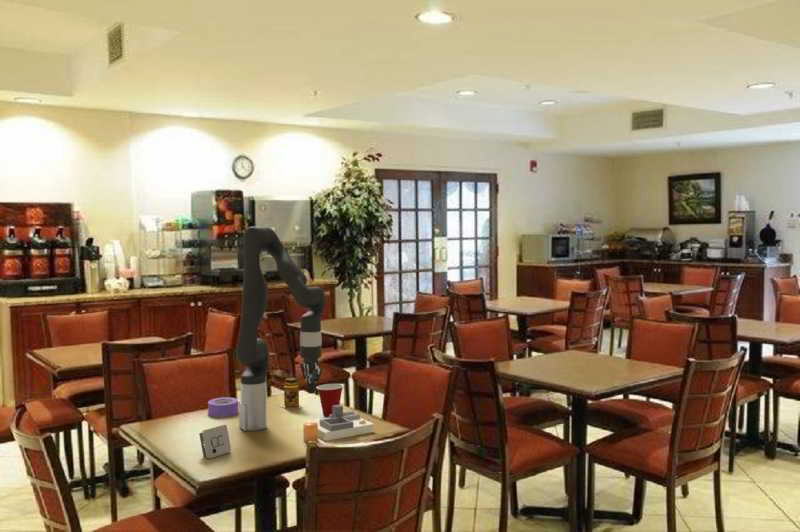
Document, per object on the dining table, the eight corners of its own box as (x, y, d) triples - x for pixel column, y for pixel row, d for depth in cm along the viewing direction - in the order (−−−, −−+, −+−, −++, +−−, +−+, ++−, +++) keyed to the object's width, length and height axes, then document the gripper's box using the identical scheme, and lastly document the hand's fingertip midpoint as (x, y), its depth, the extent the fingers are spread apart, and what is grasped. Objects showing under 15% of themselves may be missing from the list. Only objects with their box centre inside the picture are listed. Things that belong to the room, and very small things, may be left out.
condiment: (287, 410, 280) (287, 381, 279) (278, 405, 287) (278, 377, 286) (303, 407, 284) (303, 379, 283) (294, 403, 291) (294, 375, 290)
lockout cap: (307, 444, 236) (307, 426, 236) (301, 440, 240) (301, 423, 240) (320, 441, 239) (320, 424, 239) (314, 437, 243) (313, 421, 243)
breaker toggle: (335, 420, 253) (335, 407, 253) (332, 418, 256) (332, 405, 256) (343, 419, 255) (343, 406, 255) (339, 417, 257) (339, 404, 257)
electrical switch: (208, 460, 220) (206, 431, 220) (198, 458, 223) (196, 429, 223) (231, 452, 227) (229, 424, 227) (222, 450, 230) (220, 423, 230)
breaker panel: (324, 441, 239) (324, 427, 239) (305, 429, 253) (305, 416, 252) (373, 431, 250) (373, 418, 250) (352, 421, 264) (352, 408, 263)
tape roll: (228, 418, 268) (228, 405, 268) (202, 415, 271) (202, 403, 271) (243, 410, 280) (243, 398, 279) (218, 408, 283) (218, 396, 283)
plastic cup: (329, 409, 280) (329, 380, 280) (349, 414, 274) (349, 384, 273) (310, 415, 272) (310, 385, 271) (331, 420, 265) (330, 389, 265)
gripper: (292, 342, 241) (293, 390, 242) (309, 347, 230) (309, 398, 231) (311, 340, 246) (312, 387, 247) (329, 345, 234) (329, 395, 235)
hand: (311, 392), depth 239 cm, fingers closed
